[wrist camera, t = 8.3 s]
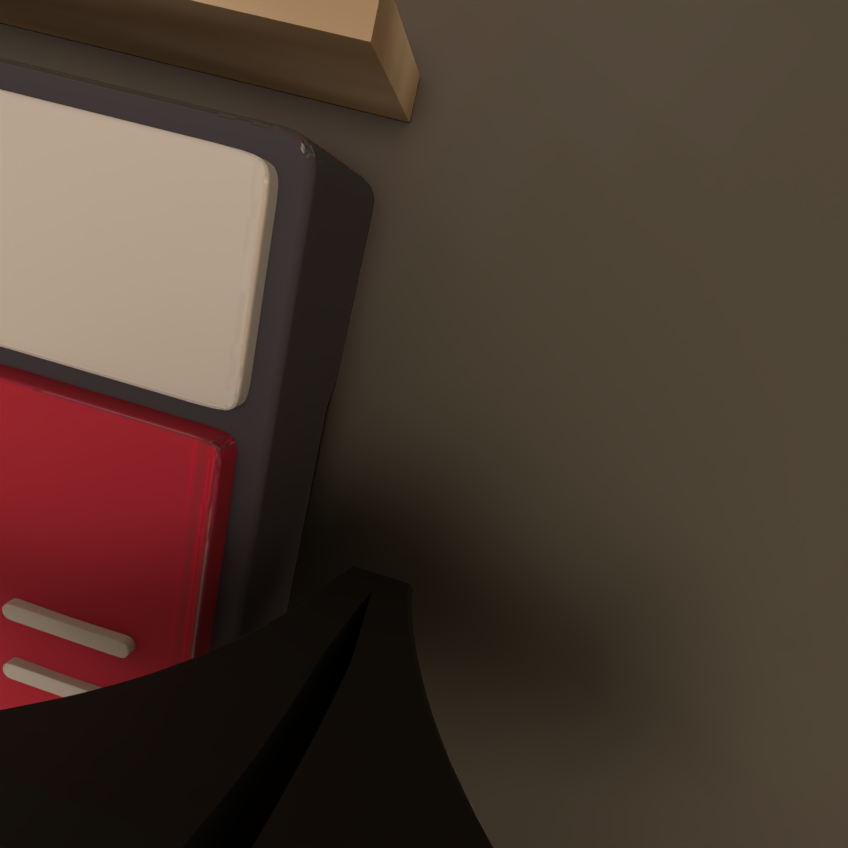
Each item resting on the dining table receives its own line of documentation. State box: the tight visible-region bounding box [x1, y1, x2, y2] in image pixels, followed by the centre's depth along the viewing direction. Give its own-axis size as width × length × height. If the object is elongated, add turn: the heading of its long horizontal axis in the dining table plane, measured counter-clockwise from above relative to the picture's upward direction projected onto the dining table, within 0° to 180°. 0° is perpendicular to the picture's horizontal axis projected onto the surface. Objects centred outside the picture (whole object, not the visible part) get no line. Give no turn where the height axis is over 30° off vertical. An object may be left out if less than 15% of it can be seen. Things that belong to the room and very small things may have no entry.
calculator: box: [0, 58, 374, 710], centre depth 11 cm, size 11×4×15 cm
